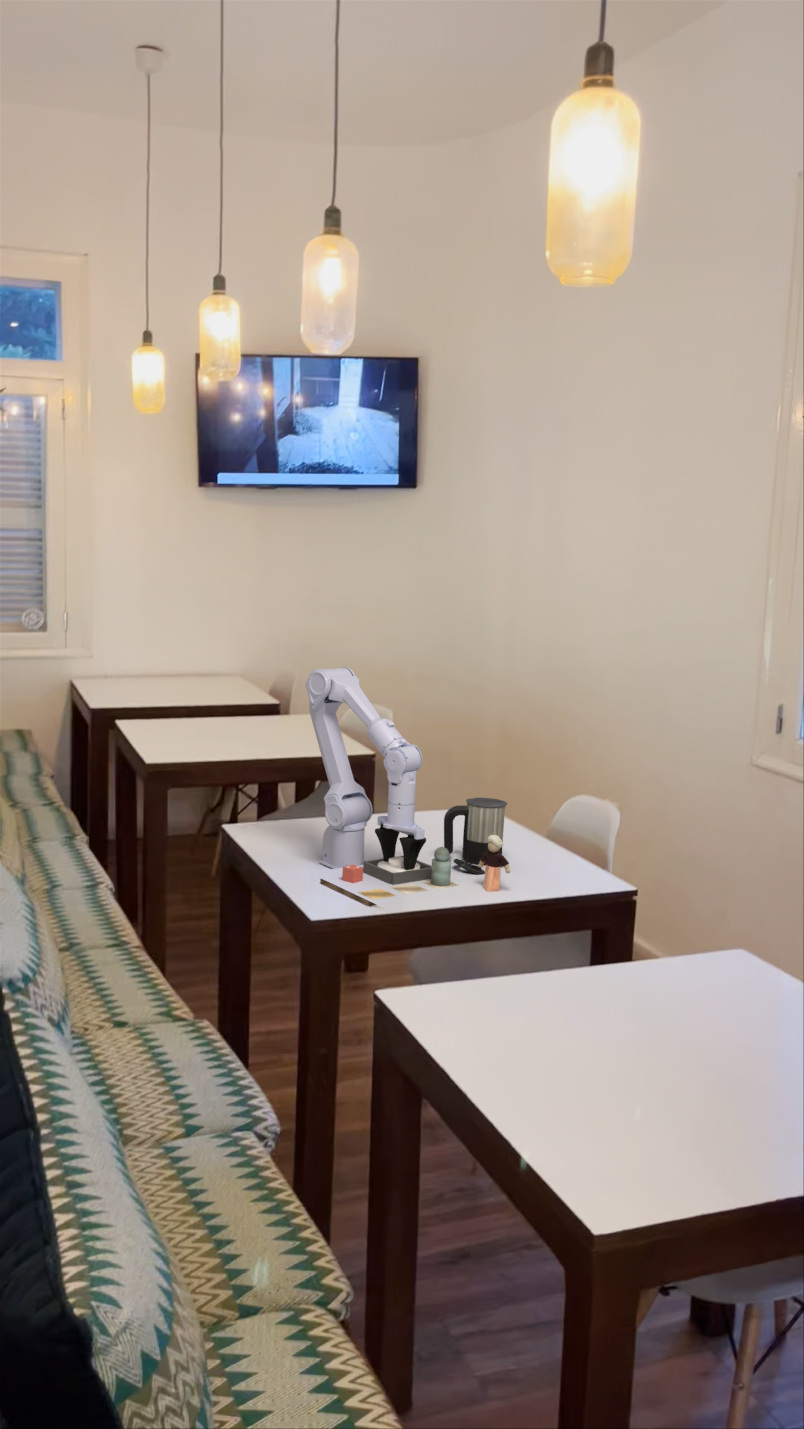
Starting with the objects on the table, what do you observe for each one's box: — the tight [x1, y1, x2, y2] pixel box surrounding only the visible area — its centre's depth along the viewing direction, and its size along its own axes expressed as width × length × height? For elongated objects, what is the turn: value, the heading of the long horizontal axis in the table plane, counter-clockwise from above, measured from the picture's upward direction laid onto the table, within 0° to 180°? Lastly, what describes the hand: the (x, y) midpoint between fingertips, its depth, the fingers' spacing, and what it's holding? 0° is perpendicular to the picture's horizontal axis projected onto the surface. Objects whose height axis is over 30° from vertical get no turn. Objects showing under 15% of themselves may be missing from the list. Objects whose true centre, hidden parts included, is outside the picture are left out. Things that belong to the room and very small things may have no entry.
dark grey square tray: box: [362, 855, 432, 886], centre depth 253 cm, size 11×11×2 cm
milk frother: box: [443, 797, 508, 876], centre depth 264 cm, size 14×16×15 cm
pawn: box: [430, 846, 452, 886], centre depth 247 cm, size 4×4×8 cm
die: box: [341, 865, 364, 884], centre depth 248 cm, size 3×3×3 cm
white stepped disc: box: [378, 856, 420, 873], centre depth 253 cm, size 9×9×3 cm
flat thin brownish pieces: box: [320, 878, 460, 907], centre depth 248 cm, size 18×24×1 cm
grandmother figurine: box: [477, 835, 511, 893], centre depth 244 cm, size 8×4×13 cm, turn 62°
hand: (398, 865), depth 253 cm, fingers open, 7 cm apart
